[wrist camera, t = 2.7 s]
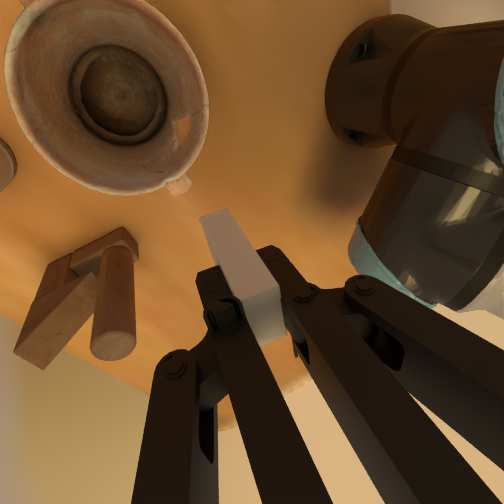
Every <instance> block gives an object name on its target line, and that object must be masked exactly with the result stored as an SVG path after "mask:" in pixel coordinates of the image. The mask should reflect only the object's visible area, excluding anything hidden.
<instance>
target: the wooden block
mask: <svg viewBox="0 0 504 504" xmlns="http://www.w3.org/2000/svg"><path fill="white" fill-rule="evenodd" d="M138 259H139V253H138V245H137V244H136V242H135V241H134V240H133V239H132V237H131V236H130V235H129V234H128V232H127V231H126V230H125V229H124V228H120V229H118V230H116V231H114V232H112V233H110V234H108V235H106V236H104V237H102V238H100V239H98V240H96V241H95V242H93V243H91V244H89V245H87V246H85V247H83V248H81V249H79V250H77V251H75V252H74V253H73V254H69V255H67V256H65V257H63V258H61V259H59V260H57V261H55V262H53V263H51V264H49V265H48V266H47V268H46V270H45V273H44V276H43V278H42V281H41V283H40V286H39V289H38V291H37V294H36V296H35V299H34V301H33V302H32V304H31V307H30V310H29V312H28V315H27V317H26V320H25V322H24V325H23V328H22V330H21V333H20V335H19V338H18V340H17V343H16V345H15V349H14V351H13V352H14V353H15V354H16V355H18V356H20V357H21V358H23V359H25V360H27V361H28V362H30V363H32V364H33V365H35V366H37V367H38V368H40V369H42V370H44V369H45V368H46V367H47V366H48V365H49V364H50V363H51V361H52V360H53V359H54V358H55V357H56V356H57V354H58V353H59V352H60V351H61V350H62V349H63V348H64V346H65V345H66V344H67V343H68V342H69V341H70V339H71V338H72V337H73V336H74V335H75V334H76V332H77V331H78V330H79V329H80V328H81V327H82V325H83V324H84V323H85V322H86V321H87V320H88V318H89V317H90V316H91V315H92V314H93V313H94V318H93V326H92V334H91V342H90V350H91V352H92V354H93V355H94V356H95V357H96V358H98V359H100V360H104V361H115V360H120V359H122V358H124V357H126V356H128V355H129V354H131V352H132V351H133V350H134V348H135V346H136V318H135V292H134V265H133V262H135V261H137V260H138Z"/></svg>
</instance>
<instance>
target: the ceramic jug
mask: <svg viewBox="0 0 504 504" xmlns="http://www.w3.org/2000/svg"><path fill="white" fill-rule="evenodd" d="M19 1H20V2H21V3H22V4H23V5H24V7H25V9H24V10H23V11H22V12H21V14H20V16H19V17H18V19H17V20H16V22H15V24H14V26H13V28H12V30H11V33H10V36H9V38H8V41H7V45H6V49H5V56H4V76H5V84H6V90H7V95H8V98H9V100H10V104H11V107H12V109H13V111H14V113H15V116H16V119H17V121H18V123H19V125H20V127H21V129H22V131H23V132H24V133H25V135H26V137H27V138H28V140H29V141H30V142H31V143H32V145H33V146H34V148H35V149H36V150H37V152H38V153H39V154H40V155H41V156H42V157H43V158H44V159H45V160H46V161H47V162H48V163H49V164H50V165H52V166H53V167H54V168H55V169H56V170H57V171H59V172H60V173H62V174H63V175H64V176H66V177H68V178H69V179H71V180H73V181H75V182H77V183H78V184H80V185H82V186H85V187H87V188H90V189H92V190H95V191H99V192H102V193H106V194H113V195H124V196H132V195H141V194H146V193H150V192H153V191H156V190H159V189H161V188H163V187H165V188H166V189H167V190H168V191H169V192H170V194H171V195H173V196H179V195H182V194H184V193H186V192H187V190H188V189H189V188H190V187H191V186H192V180H191V179H190V177H189V176H188V174H187V173H186V171H187V170H188V169H189V168H190V167H191V166H192V165H193V163H194V162H195V160H196V159H197V157H198V156H199V154H200V152H201V150H202V147H203V145H204V142H205V139H206V135H207V130H208V124H209V98H208V91H207V87H206V83H205V79H204V76H203V73H202V70H201V67H200V65H199V63H198V60H197V58H196V56H195V54H194V53H193V51H192V49H191V47H190V46H189V45H188V43H187V41H186V40H185V38H184V37H183V35H182V34H181V33H180V32H179V31H178V29H177V28H176V27H175V26H174V25H173V24H172V23H171V22H170V21H169V20H168V19H167V18H166V17H165V16H164V15H163V14H162V13H161V12H160V11H158V10H157V9H156V8H155V7H153V6H152V5H150V4H148V3H147V2H146V1H144V0H19Z"/></svg>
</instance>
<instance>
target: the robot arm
mask: <svg viewBox="0 0 504 504" xmlns="http://www.w3.org/2000/svg"><path fill="white" fill-rule="evenodd" d="M325 102H326V112H327V116H328V120H329V123H330V125H331V127H332V129H333V131H334V132H335V133H336V135H337V136H338V137H339V138H341V139H342V140H343V141H345V142H347V143H349V144H352V145H355V146H358V147H363V148H374V147H382V146H390V145H397V146H396V148H395V150H394V152H393V154H392V156H391V158H390V160H389V162H388V164H387V166H386V168H385V170H384V172H383V174H382V176H381V178H380V180H379V182H378V184H377V186H376V188H375V190H374V192H373V194H372V196H371V198H370V200H369V202H368V204H367V206H366V208H365V210H364V212H363V214H362V216H360V217H359V218H358V220H357V222H356V228H355V230H354V233H353V235H352V237H351V239H350V242H349V245H348V256H349V259H350V261H351V263H352V265H353V266H354V267H355V270H356V271H357V272H358V274H359V275H355V276H353V277H350V278H349V279H348V280H347V281H346V282H345V286H344V287H342V288H334V289H320V288H319V287H318V286H316V285H314V284H311V283H308V282H307V281H306V280H305V279H304V278H303V276H302V275H301V274H300V273H299V272H298V270H297V269H296V268H295V267H294V265H293V264H292V263H291V262H290V261H289V259H288V258H287V257H286V256H285V254H284V253H283V252H282V251H281V250H280V249H279V248H277V247H275V246H273V245H269V246H267V247H264V248H261V249H258V250H256V251H255V249H254V248H253V246H252V245H251V243H250V242H249V240H248V239H247V237H246V236H245V234H244V233H243V232H242V230H241V229H240V227H239V226H238V224H237V223H236V221H235V220H234V218H233V217H232V215H231V214H230V212H229V211H228V209H224V210H221V211H218V212H215V213H212V214H209V215H206V216H203V217H200V221H201V224H202V227H203V230H204V233H205V236H206V239H207V242H208V245H209V248H210V251H211V254H212V257H213V260H214V262H215V265H216V266H214V267H212V268H209V269H206V270H203V271H201V272H198V273H197V277H196V281H195V282H196V285H197V288H198V292H199V295H200V298H201V301H202V305H203V308H204V311H203V318H204V320H205V323H206V325H207V327H208V331H207V333H206V335H205V337H204V338H203V340H202V341H201V342H200V343H199V344H198V345H196V346H195V347H194V348H192V349H191V350H190V351H188V350H185V349H177V350H175V351H172V352H169V353H168V354H167V355H165V356H164V357H163V358H162V359H161V360H160V361H159V363H158V364H157V366H156V369H155V372H154V377H153V382H152V388H151V394H150V399H149V405H148V411H147V416H146V422H145V427H144V433H143V439H142V444H141V451H140V456H139V462H138V467H137V473H136V478H135V484H134V490H133V495H132V501H131V504H219V492H218V491H219V488H218V418H217V403H218V402H220V401H221V400H222V399H223V398H224V397H225V396H226V395H227V394H228V393H229V397H230V400H231V403H232V407H233V410H234V413H235V416H236V420H237V423H238V426H239V429H240V433H241V436H242V439H243V442H244V445H245V449H246V452H247V456H248V459H249V462H250V465H251V469H252V472H253V475H254V478H255V482H256V485H257V488H258V491H259V495H260V498H261V501H262V504H333V502H332V500H331V498H330V496H329V494H328V492H327V489H326V487H325V485H324V483H323V481H322V479H321V477H320V475H319V472H318V470H317V468H316V466H315V464H314V462H313V460H312V457H311V455H310V453H309V451H308V449H307V447H306V445H305V442H304V440H303V438H302V436H301V434H300V432H299V430H298V427H297V425H296V423H295V421H294V419H293V417H292V415H291V412H290V410H289V408H288V406H287V404H286V402H285V400H284V397H283V395H282V393H281V391H280V389H279V387H278V385H277V382H276V380H275V378H274V376H273V374H272V372H271V370H270V367H269V365H268V363H267V361H266V359H265V357H264V355H263V352H262V350H261V348H260V347H261V346H263V345H265V344H268V343H270V342H272V341H274V340H277V339H279V338H281V337H284V336H286V335H287V330H286V328H287V329H288V331H289V333H290V334H291V337H292V343H293V350H294V355H295V358H296V357H298V354H299V356H300V358H301V360H302V361H303V363H304V365H305V367H306V368H307V370H308V372H309V373H310V375H311V377H312V379H313V380H314V382H315V384H316V385H317V387H318V389H319V390H320V392H321V394H322V396H323V398H324V399H325V401H326V403H327V404H328V406H329V408H330V409H331V411H332V413H333V415H334V416H335V418H336V420H337V422H338V423H339V425H340V427H341V429H342V430H343V432H344V433H345V435H346V437H347V439H348V440H349V442H350V444H351V446H352V447H353V449H354V451H355V453H356V454H357V456H358V458H359V459H360V461H361V463H362V465H363V466H364V468H365V470H366V471H367V473H368V475H369V477H370V479H371V480H372V482H373V484H374V485H375V487H376V489H377V491H378V492H379V494H380V496H381V497H382V499H383V501H384V503H385V504H502V503H501V502H500V500H499V499H498V498H497V497H496V496H495V494H494V493H493V492H492V491H491V490H490V489H489V487H488V486H487V485H486V484H485V483H484V481H482V479H481V478H480V477H479V476H478V474H477V473H476V472H475V471H474V470H473V469H472V467H471V466H470V465H469V464H468V463H467V461H466V460H465V459H464V458H463V457H462V455H461V454H460V453H459V452H458V451H457V450H456V448H455V447H454V446H453V445H452V444H451V443H450V441H449V440H448V439H447V438H446V437H445V435H444V434H443V433H442V432H441V431H440V429H439V428H438V427H437V426H436V425H435V424H434V422H433V421H432V420H431V419H430V418H429V416H428V415H427V414H426V413H425V412H424V411H423V409H422V408H421V407H420V406H419V405H418V404H417V402H416V401H415V400H414V399H413V398H412V396H414V397H415V398H416V399H417V400H418V401H420V402H421V403H422V404H423V405H424V406H426V407H427V408H428V409H429V410H430V411H432V412H433V413H434V414H435V415H436V416H438V417H439V418H440V419H442V420H443V421H444V422H445V423H446V424H447V425H449V426H450V427H451V428H452V429H454V430H455V431H456V432H457V433H459V434H460V435H461V436H462V437H463V438H464V439H466V440H467V441H468V442H469V443H471V444H472V445H473V446H474V447H475V448H477V449H478V450H479V451H480V452H481V453H483V454H484V455H485V456H486V457H487V458H489V459H490V460H491V461H492V462H493V463H495V464H496V465H497V466H498V467H499V468H501V469H502V470H503V471H504V350H502V349H500V348H499V347H497V346H495V345H493V344H492V343H490V342H488V341H487V340H484V339H483V338H481V337H479V336H478V335H476V334H474V333H472V332H470V331H469V330H467V329H465V328H464V327H462V326H460V325H458V324H457V323H455V322H453V321H451V320H449V319H448V318H446V317H444V316H442V315H441V314H439V313H437V312H435V311H434V310H432V309H431V308H434V307H435V306H436V305H437V304H438V303H440V304H442V305H444V306H446V307H448V308H450V309H451V310H453V311H456V312H458V313H462V312H468V311H474V310H486V311H488V312H490V313H492V314H494V315H496V316H498V317H500V318H502V319H504V20H499V21H491V22H484V23H475V24H467V25H459V26H451V27H442V28H437V27H435V26H432V25H430V24H428V23H425V22H423V21H420V20H418V19H416V18H413V17H411V16H408V15H402V14H393V15H386V16H381V17H377V18H374V19H371V20H369V21H367V22H365V23H364V24H362V25H361V26H360V27H358V28H357V29H356V30H355V31H354V32H353V33H352V34H351V35H350V36H349V37H348V38H347V40H346V41H345V42H344V44H343V45H342V47H341V48H340V50H339V52H338V54H337V55H336V57H335V60H334V62H333V64H332V67H331V70H330V73H329V76H328V81H327V86H326V97H325ZM408 392H409V393H410V394H411V395H412V396H411V395H410V394H409V393H408Z"/></svg>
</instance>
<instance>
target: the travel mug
mask: <svg viewBox="0 0 504 504" xmlns="http://www.w3.org/2000/svg"><path fill="white" fill-rule="evenodd" d="M15 173H16V160H15V158H14V155H13V153H12V152H11V150H10V149H9V147H8V146H7V145H6V144H5V143H4V142H3V141H2V140H1V139H0V192H1V191H2V190H3V189H4V188H5V187H6V185H8V184H9V182H10V181H11V180H12V179H13V178H14V176H15Z"/></svg>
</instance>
